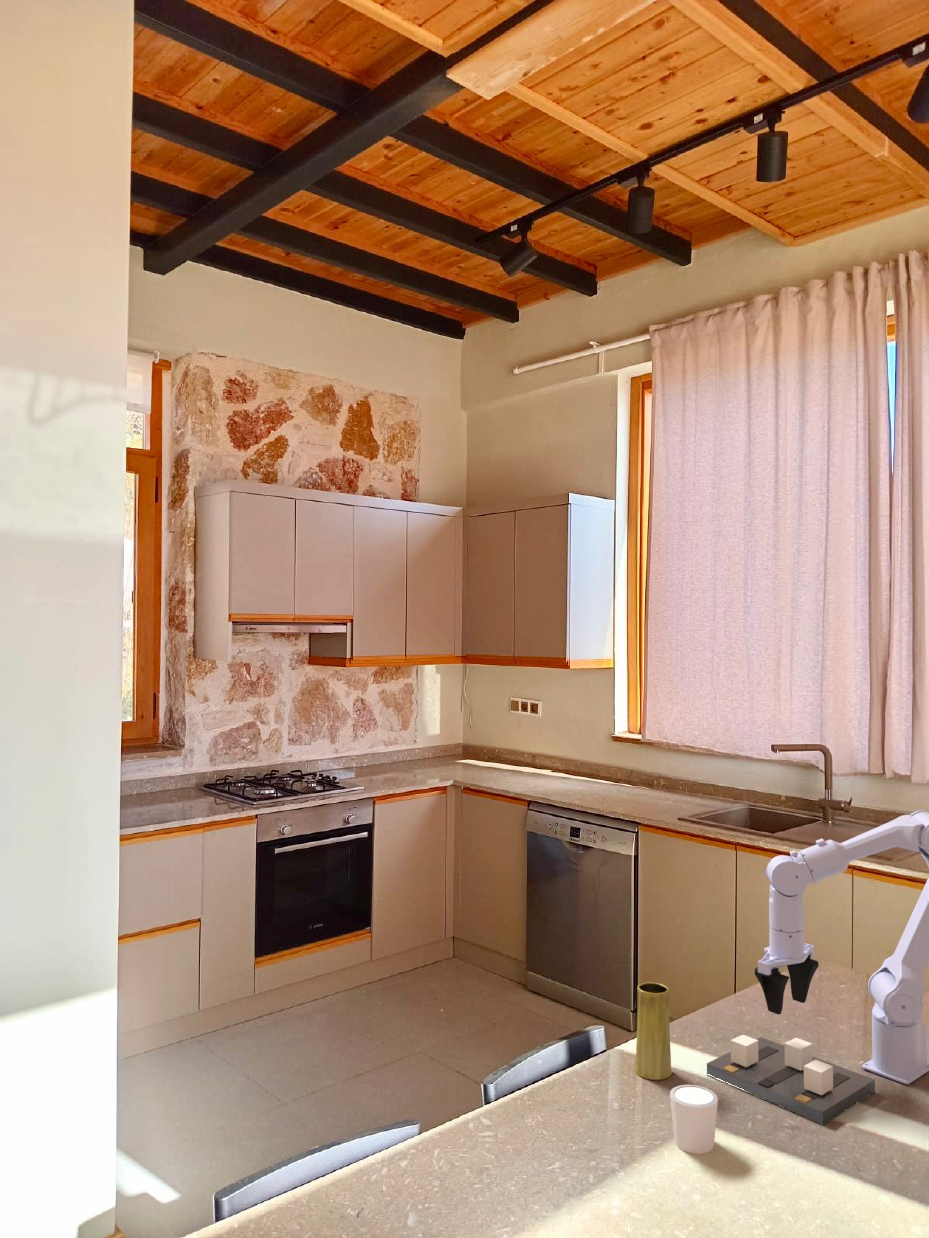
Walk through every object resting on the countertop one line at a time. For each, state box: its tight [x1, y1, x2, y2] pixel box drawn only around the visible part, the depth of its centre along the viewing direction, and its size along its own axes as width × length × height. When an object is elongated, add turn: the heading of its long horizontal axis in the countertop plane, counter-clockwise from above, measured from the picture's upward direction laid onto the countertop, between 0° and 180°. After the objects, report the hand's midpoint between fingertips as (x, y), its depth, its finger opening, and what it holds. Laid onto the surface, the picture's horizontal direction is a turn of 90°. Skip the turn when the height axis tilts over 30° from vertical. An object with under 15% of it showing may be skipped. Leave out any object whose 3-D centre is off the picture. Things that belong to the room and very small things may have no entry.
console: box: [706, 1036, 876, 1126], centre depth 156 cm, size 16×21×2 cm
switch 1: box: [730, 1034, 758, 1067], centre depth 159 cm, size 4×3×4 cm
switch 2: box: [784, 1037, 813, 1071], centre depth 158 cm, size 4×3×4 cm
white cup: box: [669, 1084, 719, 1155], centre depth 138 cm, size 7×7×7 cm
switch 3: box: [804, 1060, 833, 1095], centre depth 150 cm, size 4×3×4 cm
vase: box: [634, 981, 673, 1081], centre depth 160 cm, size 6×6×14 cm
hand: (787, 1006), depth 163 cm, fingers open, 7 cm apart
